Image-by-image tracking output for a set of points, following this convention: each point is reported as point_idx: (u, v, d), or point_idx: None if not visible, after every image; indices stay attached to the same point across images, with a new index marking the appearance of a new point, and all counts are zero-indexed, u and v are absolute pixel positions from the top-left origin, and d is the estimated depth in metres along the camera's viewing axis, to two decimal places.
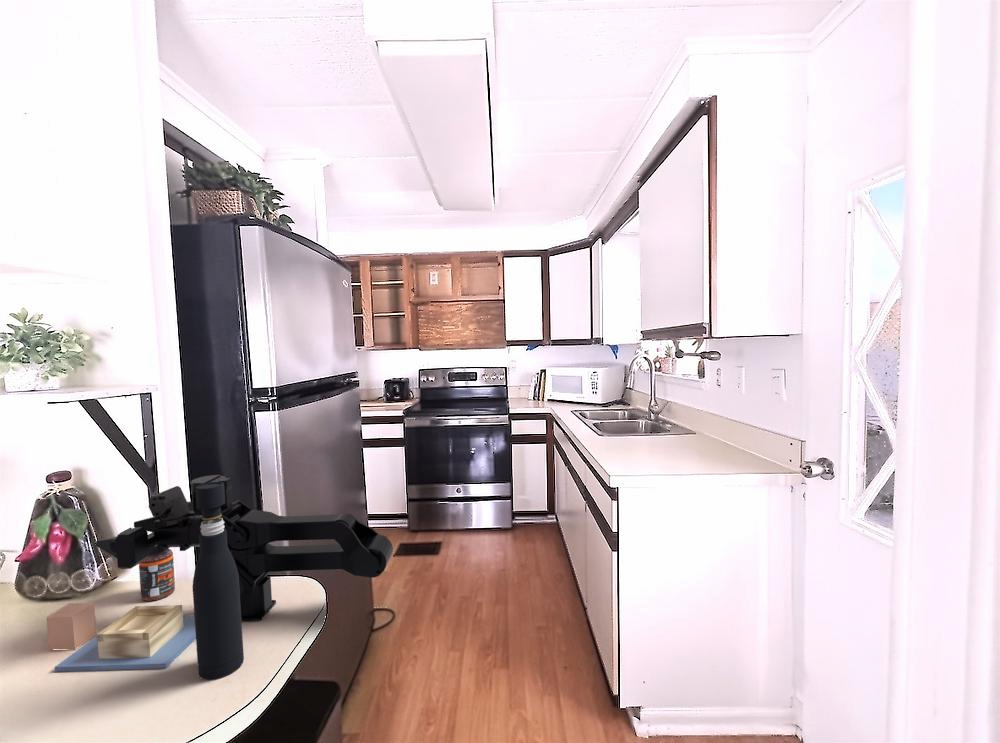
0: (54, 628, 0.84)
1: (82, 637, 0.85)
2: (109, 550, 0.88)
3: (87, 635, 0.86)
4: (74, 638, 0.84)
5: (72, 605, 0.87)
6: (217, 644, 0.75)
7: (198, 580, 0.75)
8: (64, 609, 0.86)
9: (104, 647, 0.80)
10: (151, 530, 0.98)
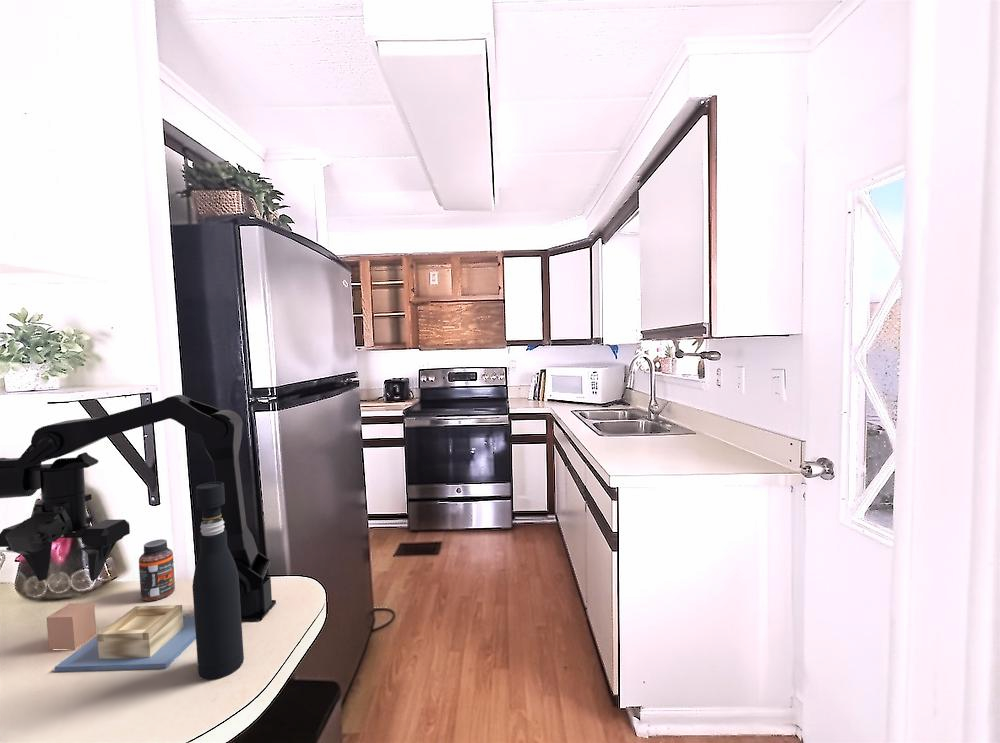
0: (54, 628, 0.84)
1: (82, 637, 0.85)
2: (104, 560, 0.86)
3: (87, 635, 0.86)
4: (74, 638, 0.84)
5: (72, 605, 0.87)
6: (217, 644, 0.75)
7: (198, 580, 0.75)
8: (64, 609, 0.86)
9: (104, 647, 0.80)
10: (48, 558, 0.87)
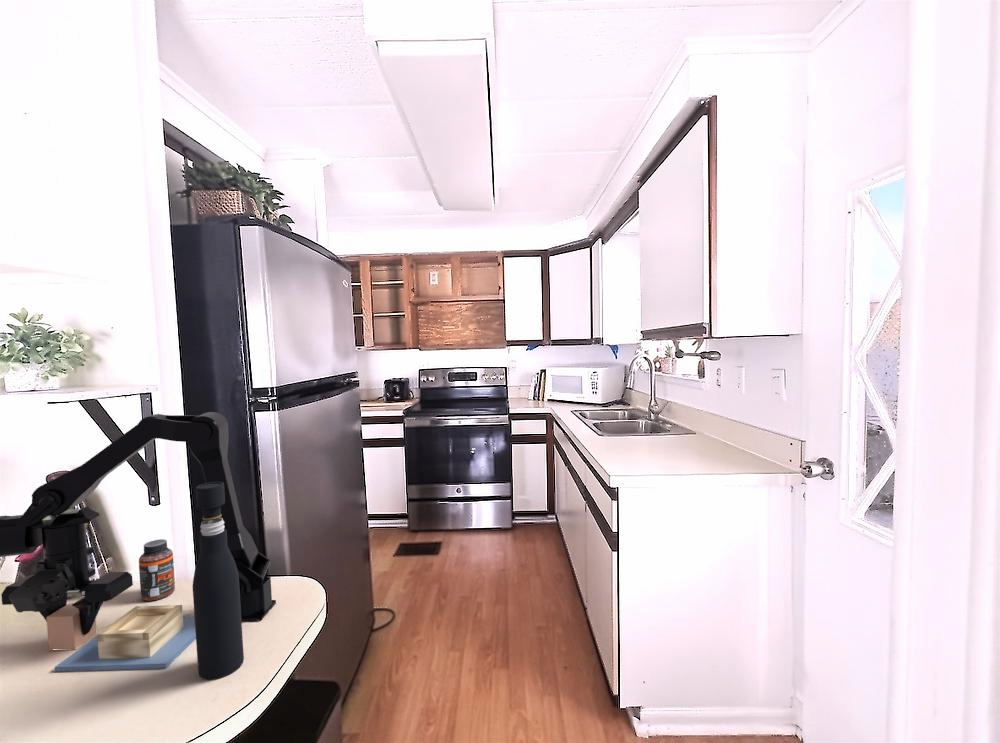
0: (54, 628, 0.84)
1: (82, 637, 0.85)
2: (95, 613, 0.87)
3: (87, 635, 0.86)
4: (74, 637, 0.84)
5: None
6: (217, 644, 0.75)
7: (198, 580, 0.75)
8: (64, 609, 0.86)
9: (104, 647, 0.80)
10: None
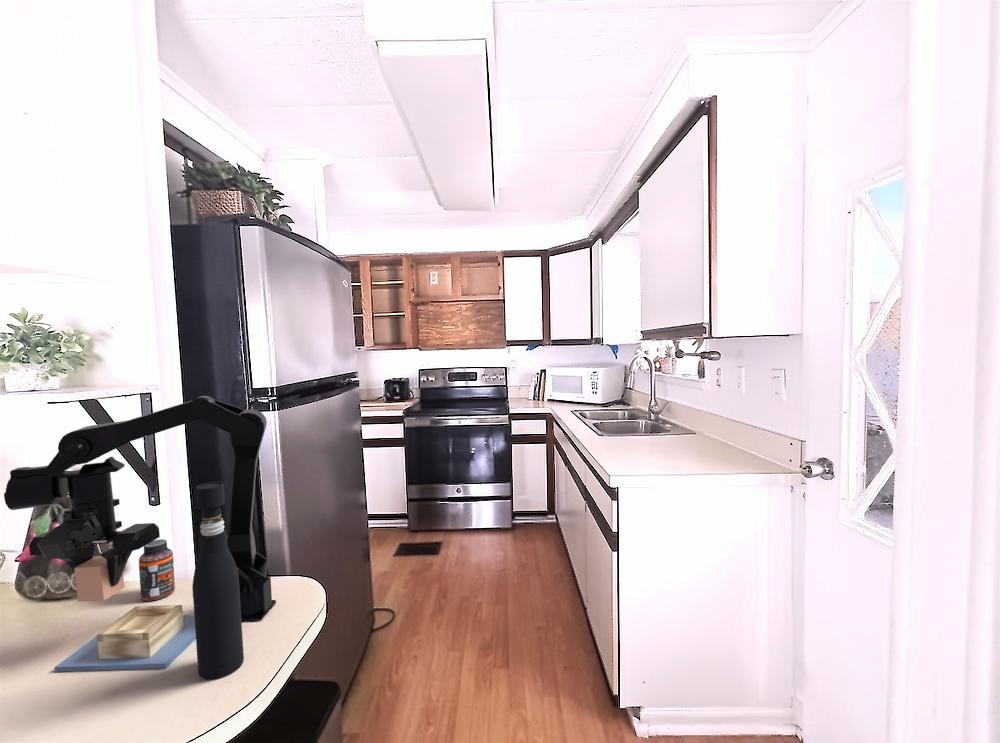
0: (82, 578, 0.83)
1: (110, 588, 0.84)
2: (123, 565, 0.86)
3: (115, 587, 0.85)
4: (102, 588, 0.83)
5: (99, 557, 0.86)
6: (217, 644, 0.75)
7: (198, 580, 0.75)
8: (91, 561, 0.85)
9: (104, 647, 0.80)
10: None
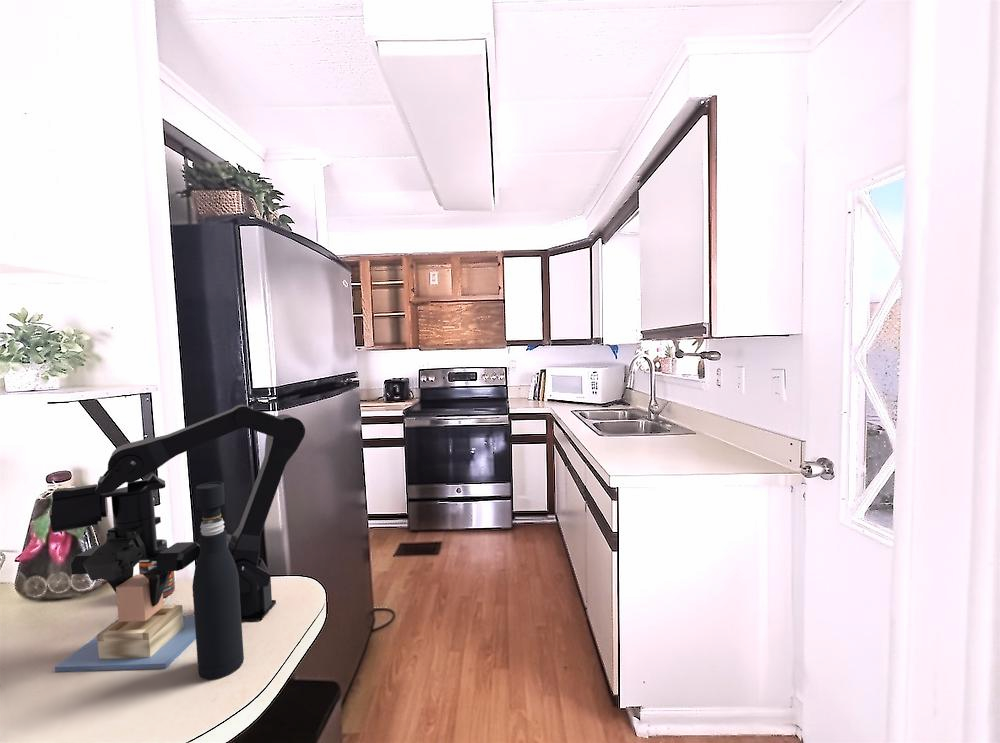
0: (124, 598, 0.81)
1: (151, 608, 0.83)
2: (164, 584, 0.85)
3: (155, 607, 0.84)
4: (144, 608, 0.82)
5: (139, 576, 0.85)
6: (217, 644, 0.75)
7: (198, 580, 0.75)
8: (132, 579, 0.84)
9: (104, 647, 0.80)
10: None
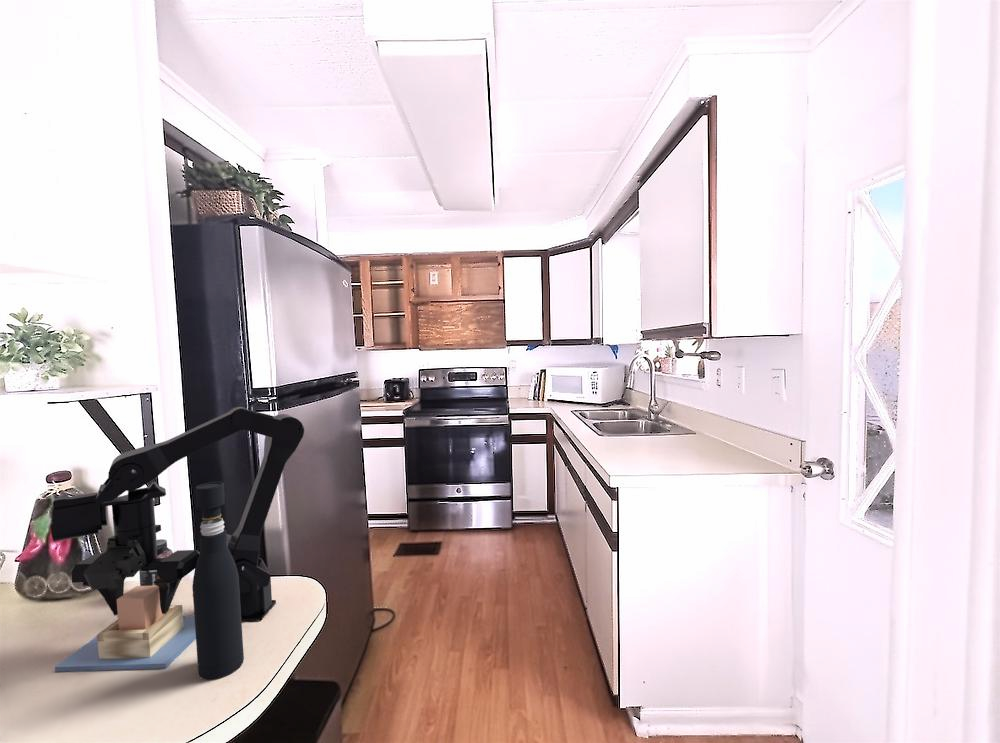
0: (124, 610, 0.82)
1: (152, 620, 0.83)
2: (173, 592, 0.85)
3: (156, 618, 0.84)
4: (144, 620, 0.82)
5: (140, 587, 0.85)
6: (217, 644, 0.75)
7: (198, 580, 0.75)
8: (133, 591, 0.84)
9: (104, 647, 0.80)
10: (122, 591, 0.85)
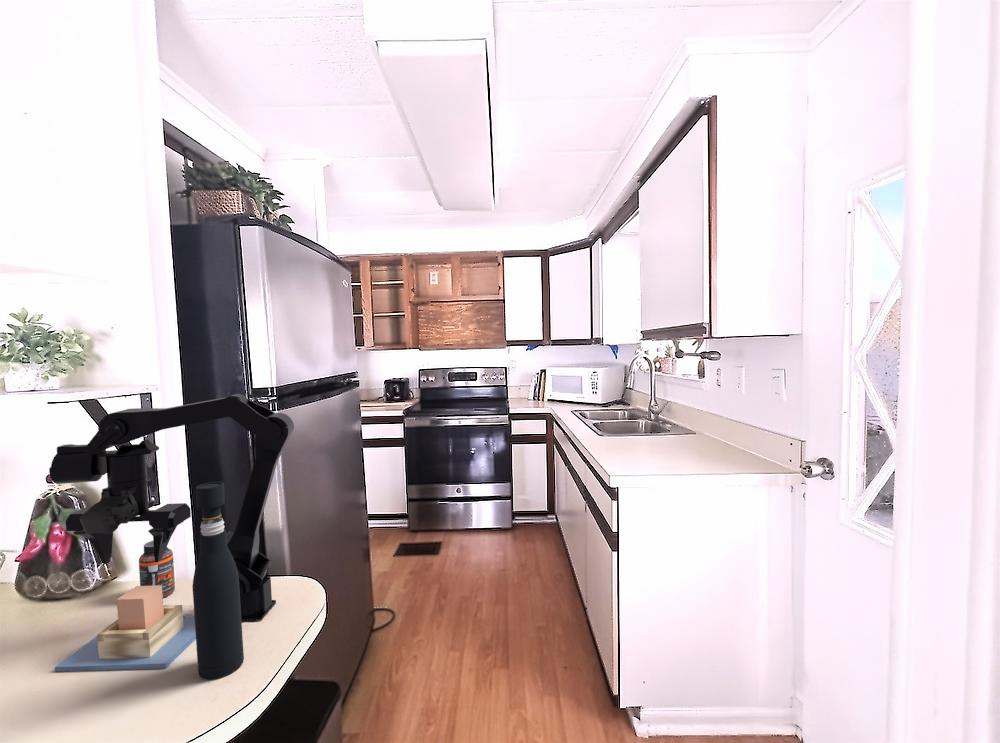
0: (124, 610, 0.82)
1: (152, 620, 0.83)
2: (166, 542, 0.90)
3: (156, 618, 0.84)
4: (144, 620, 0.82)
5: (140, 587, 0.85)
6: (217, 644, 0.75)
7: (198, 580, 0.75)
8: (133, 591, 0.84)
9: (104, 647, 0.80)
10: (111, 542, 0.90)
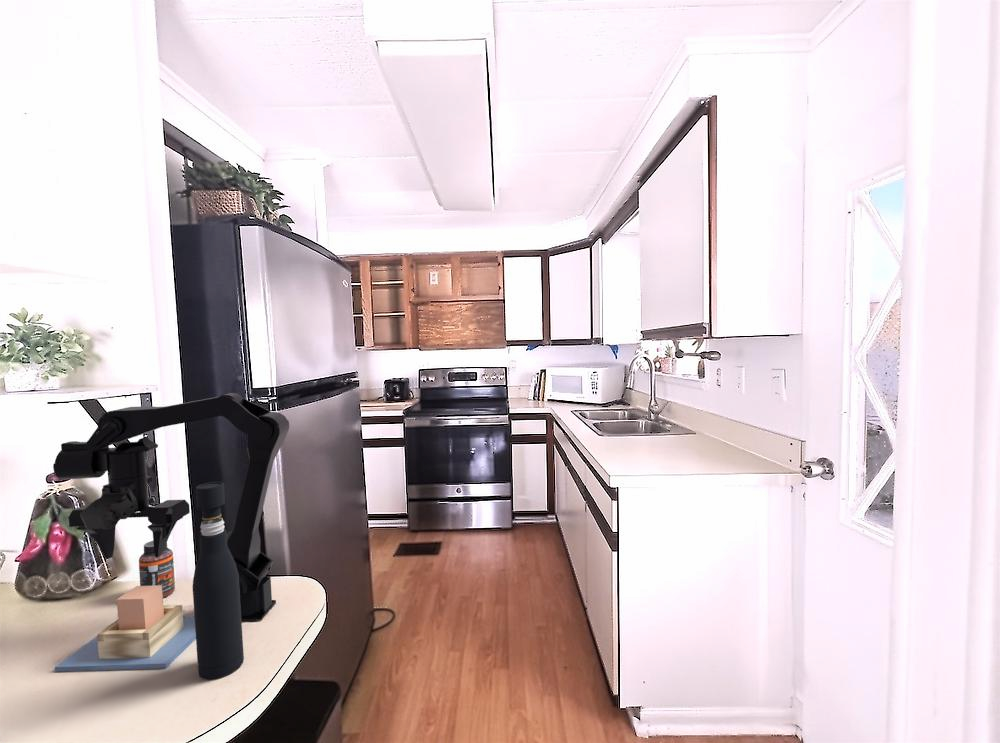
0: (124, 610, 0.82)
1: (152, 620, 0.83)
2: (166, 538, 0.91)
3: (156, 618, 0.84)
4: (144, 620, 0.82)
5: (140, 587, 0.85)
6: (217, 644, 0.75)
7: (198, 580, 0.75)
8: (133, 591, 0.84)
9: (104, 647, 0.80)
10: (113, 537, 0.92)
